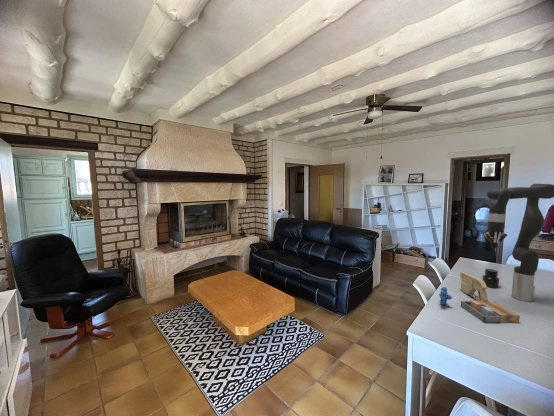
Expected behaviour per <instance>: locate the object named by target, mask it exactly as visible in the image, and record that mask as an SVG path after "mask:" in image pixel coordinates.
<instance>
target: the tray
mask: <svg viewBox="0 0 554 416" xmlns="http://www.w3.org/2000/svg"><path fill="white" fill-rule="evenodd" d="M471 301H472V300H460V308H462V309H464V310H465V311H467V312H468V313H470V315H472V316H474V317H475V318H476V319H478V320H480V321H481V322H482V323H488V324H500V323H501V322H500V318H501V317H500V316H498V315H497V314H495V313H494V316H484V315H483V314H481V312H478V311H477V310H475V309H474V308H472V307H471V306H470V304H471ZM482 307H484V306H482Z"/></svg>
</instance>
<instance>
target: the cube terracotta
mask: <svg viewBox="0 0 554 416" xmlns="http://www.w3.org/2000/svg"><path fill="white" fill-rule="evenodd" d="M470 301H471V304H470V306H471V307H472V308H474V309H475V310H477V311H478V312H481V307H482V304H481V303H479V302H477V301H476V300H470Z"/></svg>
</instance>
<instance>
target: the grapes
mask: <svg viewBox="0 0 554 416" xmlns="http://www.w3.org/2000/svg"><path fill="white" fill-rule="evenodd" d="M440 290H441V291H439V294H438V295H439V299H440V300H439V303H440V305H442V306H445V305H446V304H447V301H448V300H452V299H453V297H452V296H451V295H450V294H449V293H448V288H447V287H446V286H442V287H441V288H440Z"/></svg>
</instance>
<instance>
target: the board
mask: <svg viewBox="0 0 554 416" xmlns="http://www.w3.org/2000/svg"><path fill="white" fill-rule="evenodd" d="M478 302H479V303H481V304H482V306H484V307H488V308H490V309H492V310H493V311H494V313H495V314H497V315H498V316H500V317H501V318H500V323H520V314H518V313H516V312H514V311H513V310H510V309H509V308H508V307H505V306H504V305H501V304H500V303H498V302H496V301H488V302H486V301H478Z"/></svg>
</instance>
